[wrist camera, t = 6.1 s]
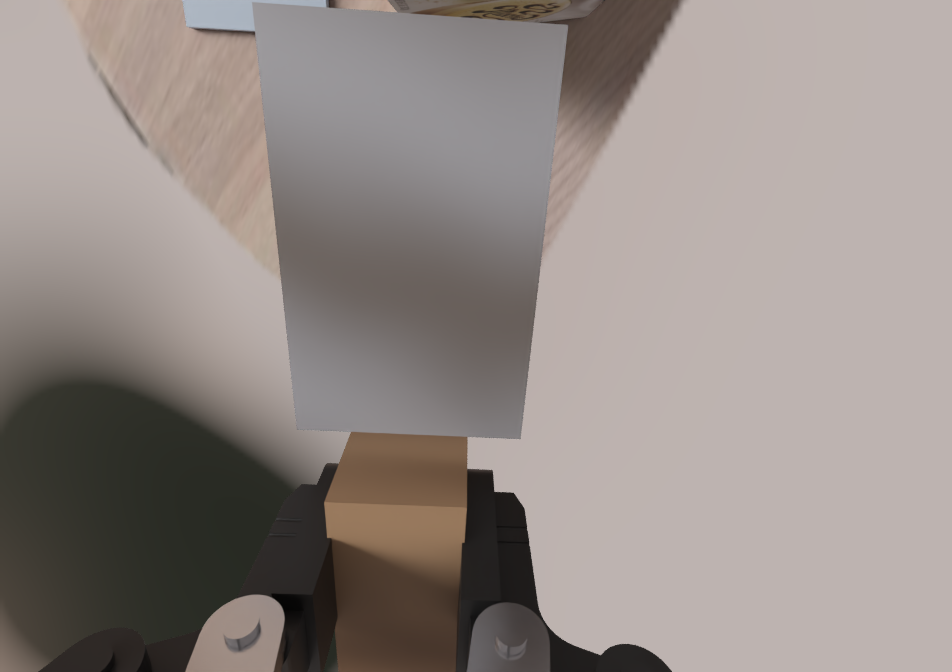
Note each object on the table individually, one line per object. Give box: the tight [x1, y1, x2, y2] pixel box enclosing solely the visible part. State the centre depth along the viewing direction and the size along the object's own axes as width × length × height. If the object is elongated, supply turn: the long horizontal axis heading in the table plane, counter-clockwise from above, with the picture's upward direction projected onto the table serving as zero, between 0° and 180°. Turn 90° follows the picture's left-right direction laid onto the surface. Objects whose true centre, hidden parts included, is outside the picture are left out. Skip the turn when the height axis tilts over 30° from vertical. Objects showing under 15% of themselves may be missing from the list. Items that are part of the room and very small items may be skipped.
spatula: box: [252, 2, 568, 672], centre depth 10 cm, size 16×5×3 cm, turn 177°
